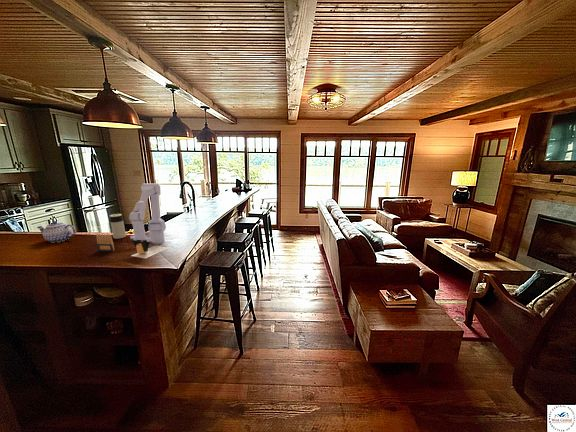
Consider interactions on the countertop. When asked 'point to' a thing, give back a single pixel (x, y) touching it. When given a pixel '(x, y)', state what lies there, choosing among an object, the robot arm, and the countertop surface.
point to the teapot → (57, 232)
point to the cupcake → (140, 248)
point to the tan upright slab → (105, 243)
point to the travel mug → (117, 226)
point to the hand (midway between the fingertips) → (142, 250)
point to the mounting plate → (150, 252)
